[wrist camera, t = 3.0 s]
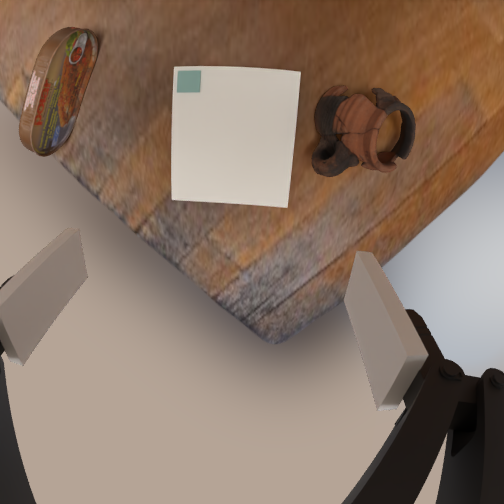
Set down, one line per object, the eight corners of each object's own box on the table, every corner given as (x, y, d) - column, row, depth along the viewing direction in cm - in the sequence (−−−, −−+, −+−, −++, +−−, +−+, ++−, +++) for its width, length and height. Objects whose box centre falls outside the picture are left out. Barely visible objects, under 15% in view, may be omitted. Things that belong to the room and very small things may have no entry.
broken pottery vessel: (345, 63, 29) (405, 75, 23) (376, 120, 36) (429, 142, 30) (273, 137, 31) (326, 163, 25) (317, 188, 37) (365, 220, 31)
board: (299, 72, 30) (301, 71, 28) (286, 204, 37) (287, 208, 35) (177, 67, 30) (173, 66, 28) (174, 196, 37) (171, 200, 35)
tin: (68, 149, 34) (28, 165, 26) (50, 142, 33) (9, 157, 26) (107, 34, 27) (70, 24, 20) (87, 30, 27) (47, 20, 19)
